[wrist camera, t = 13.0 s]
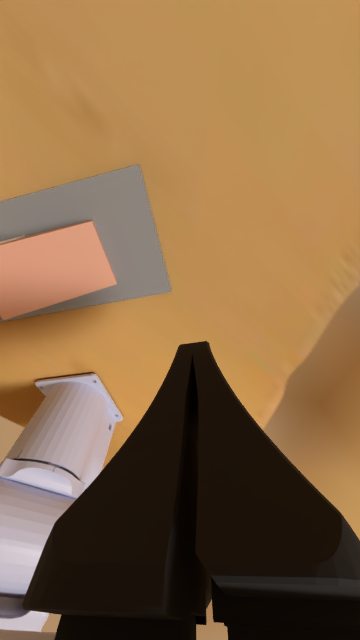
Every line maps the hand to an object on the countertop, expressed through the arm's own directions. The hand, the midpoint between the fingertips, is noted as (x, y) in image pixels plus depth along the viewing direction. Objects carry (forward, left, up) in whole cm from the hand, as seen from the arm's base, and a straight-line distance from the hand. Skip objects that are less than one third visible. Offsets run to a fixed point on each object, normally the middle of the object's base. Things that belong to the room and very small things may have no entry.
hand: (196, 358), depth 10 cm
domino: (+4, +6, -8) cm, 11 cm away
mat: (+4, +16, -9) cm, 19 cm away
